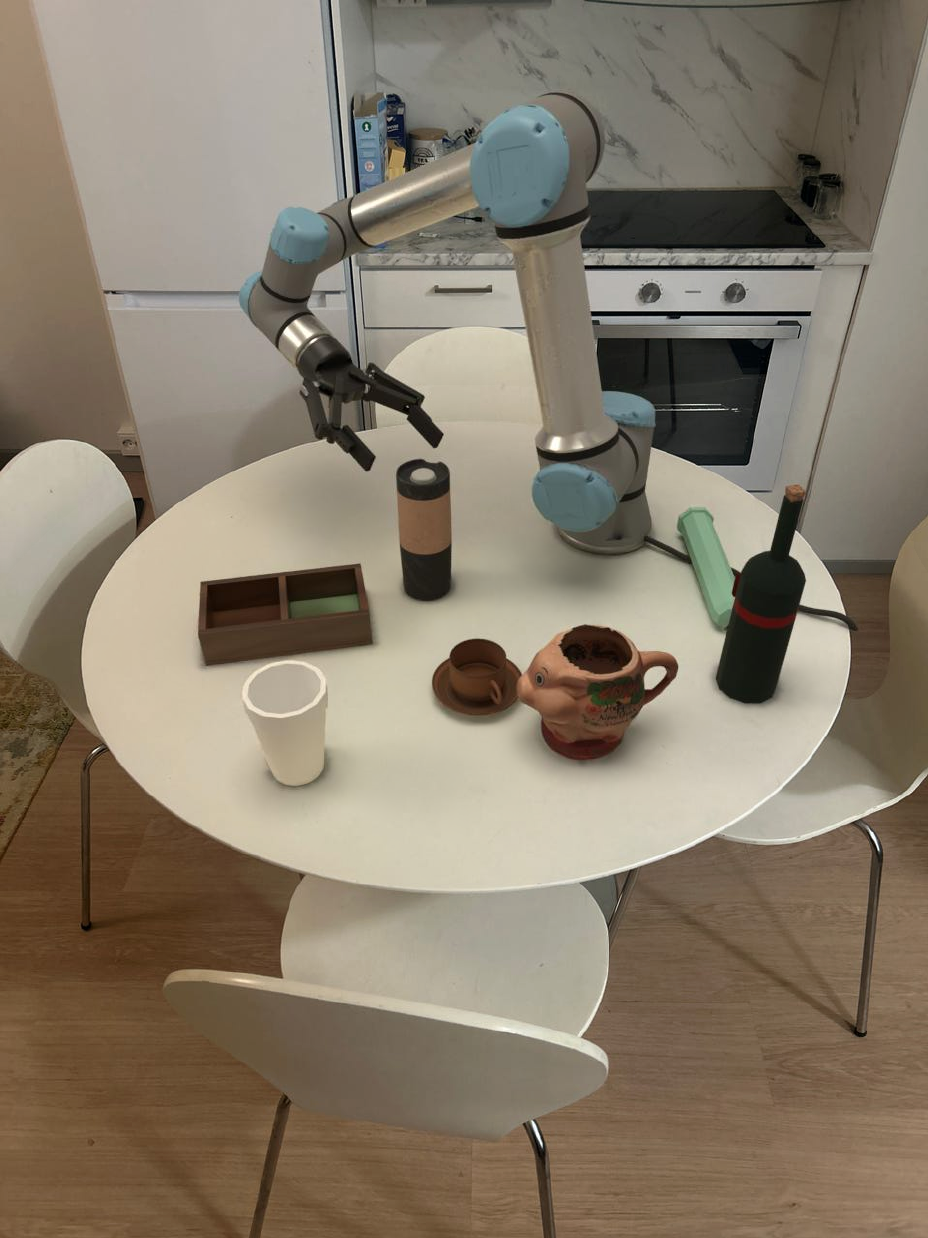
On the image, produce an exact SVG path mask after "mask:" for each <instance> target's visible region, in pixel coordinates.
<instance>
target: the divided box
mask: <svg viewBox="0 0 928 1238" xmlns="http://www.w3.org/2000/svg"><path fill="white" fill-rule="evenodd" d="M365 584H366V583H365V579H364V574H363V568H362V564H361V563H352V564H351V563H350V564H343V565H333V566H324V567H316V568H308V569H299V570H289V571H284V572H283V571H281V572H272V573H264V574H263V573H262V574H255V575H247V576H238V577H229V578H219V579H211V580H204V581H200V586H199V605H198V609H199V610H198V623H197V624H198V626H197V627H198V628H197V637H198V640H199V644H200V648H201V652H202V657H203V661H204V665H205V666H212V665H218V664H219V665H220V664H226V663H234V662H242V661H243V662H244V661H249V660H258V659H265V658H275V657H282V656H290V655H297V654H305V653H312V652H320V651H328V650H336V649H337V650H338V649H344V648H352V647H360V646H366V645H373V634H372V623H371V612H370V607H369V606H370V605H369V602H368V595H367V590H366V585H365Z"/></svg>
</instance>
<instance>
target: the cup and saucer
mask: <svg viewBox="0 0 928 1238" xmlns="http://www.w3.org/2000/svg"><path fill="white" fill-rule="evenodd" d="M522 675H523V673H522V671H521V670H520V669H519V667H518V666H517V664H515V663H514V662H513V661H512V660H510V659H509V658H507V653H506V651H505V649H504V648H503V646H501V645H500V644H499V643H497V642H495V641H493V640H490V639H486V638H470V639H469V638H468V639H465V640H463V641H460V642H458V643H457V644H456V645H454V646H453V647H452V648H451V650H450V652H449V656H448V658H447V659H445V660H443V661H442V662H441V663H440V664H439V665H438V666H437V667H436V669H435V670H434V672H433V674H432V679H431V686H432V690H433V693H434V695H435V697H436V699H437V700H438V701H439V703H441V704H442V705H443V706H445V708H447V709H449V710H451V711H452V712H455V713H458V714H461V715H465V716H470V717H471V716H473V717H482V716H483V717H485V716H491V715H495V714H498V713H501V712H503V711H505V710H507V709H509V708H510V707H511V706H513V705H514V704H515V703H516V702H517V701H518V700H519V698H518V695H517V682H518V680H519V678H520V677H521V676H522Z"/></svg>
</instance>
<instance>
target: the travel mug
mask: <svg viewBox="0 0 928 1238" xmlns="http://www.w3.org/2000/svg"><path fill="white" fill-rule="evenodd" d="M395 479H396V498H397V500H396V501H397V503H396V504H397V520H398V521H397V522H398V537H399V538H398V542H399V552H400V561H401V562H400V563H401V572H402V582H403V583H402V584H403V588H404V592H405V593H406V594H407V596H408V597H411V598H412V599H414V600H417V601H421V602H431V601H436V600H439V599H442V598H444V597H445V596H446V595H448V593H449V592H450V589H451V588H452V587H451V586H452V552H453V551H452V548H453V547H452V546H453V543H452V541H453V536H452V535H453V534H452V505H451V503H452V501H451V499H452V498H451V471H450V468H449V467H448V465H447V464H446V463H444V462H442V461H438V462H429V461H426V460H425V459H424V458H415V459H411V460H408V461H405V462H403V463H402V464H400V465H399V466H398V467H397V469H396V473H395Z"/></svg>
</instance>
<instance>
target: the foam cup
mask: <svg viewBox="0 0 928 1238" xmlns="http://www.w3.org/2000/svg"><path fill="white" fill-rule="evenodd" d="M242 686H243V687H242V693H241V699H242V704H243V708H244V712H245V714H246V716H247V718H248V720H249V722H250V723H251V726H252V728H253V730H254V733H255V735H256V738H257V740H258V743H259V744H260V747H261V750H262V752H263V755H264V757H265V760H266V762H267V764H268V767H269V769H270V771H271V774H272V775H273V776H274V779H275V780H276V781H277V782H279V783H281V784H283V785H285V786H293V787H298V786H303V785H307V784H309V783H311V782H313V781H314V780H316V779H317V778H318V777H320V774H321V773H322V772H323V770H324V766H325V765H324V764H325V742H326V716H327V715H326V714H327V708H328V705H329V690H328V684H327V678H326V676H325V675H324V674H323V672H322V671H321V670H320V668H319V667H317V666H314V665H313V664H311V663H308V662H306V661H301V660H291V659H290V660H289V659H285V660H281V661H276V662H270V663H268V664H266V665H264V666H262V667H260V668H259V669H257V670H255V671H253V672H252V673H251V675H250V676H249V677H248V678H247V679H246V681H244V683H243V685H242Z"/></svg>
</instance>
